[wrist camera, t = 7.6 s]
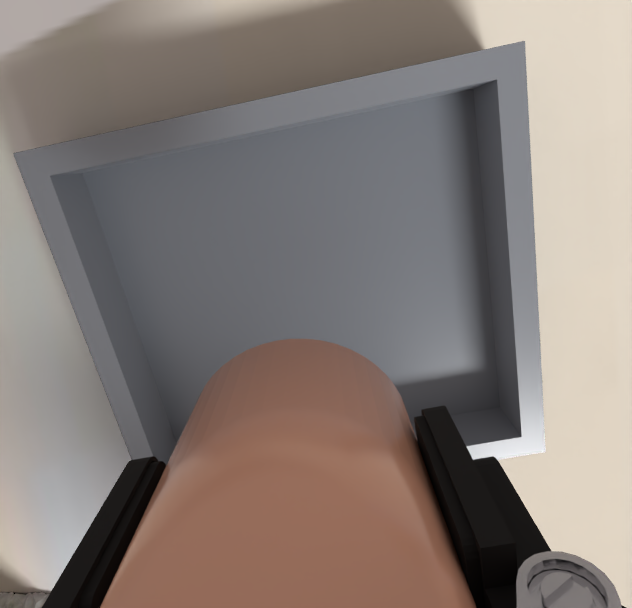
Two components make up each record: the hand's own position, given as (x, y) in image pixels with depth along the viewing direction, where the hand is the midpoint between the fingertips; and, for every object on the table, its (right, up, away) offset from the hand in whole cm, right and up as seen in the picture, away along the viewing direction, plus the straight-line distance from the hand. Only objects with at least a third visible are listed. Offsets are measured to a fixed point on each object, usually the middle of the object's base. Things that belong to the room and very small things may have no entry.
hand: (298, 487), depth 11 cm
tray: (0, +5, +15) cm, 16 cm away
